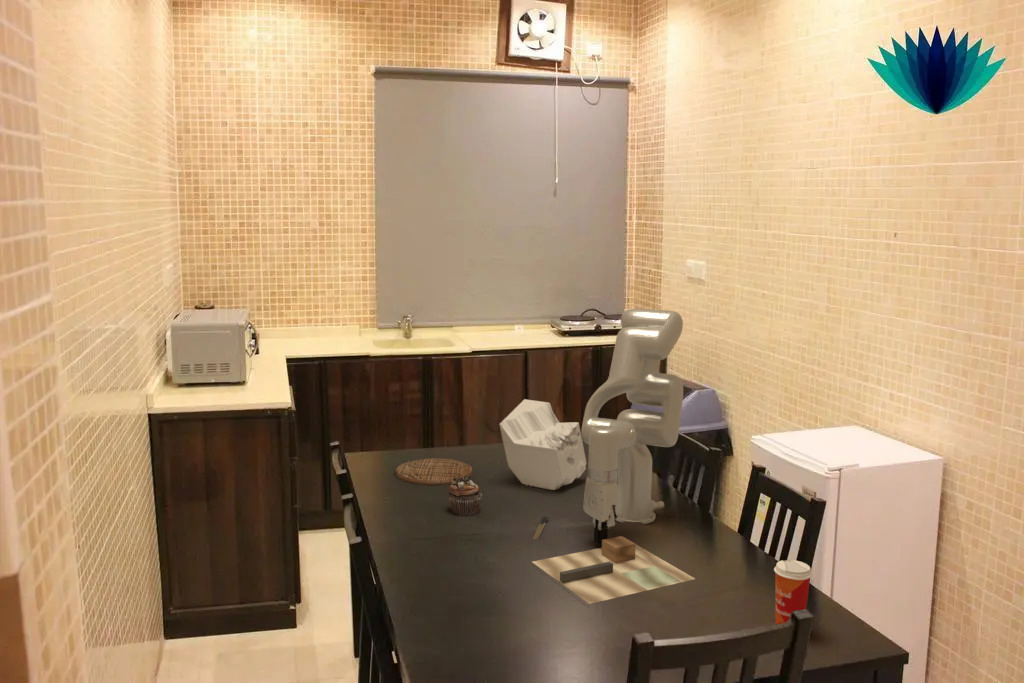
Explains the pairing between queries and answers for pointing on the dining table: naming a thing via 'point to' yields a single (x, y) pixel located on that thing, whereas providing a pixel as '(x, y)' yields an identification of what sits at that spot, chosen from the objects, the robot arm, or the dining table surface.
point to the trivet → (433, 471)
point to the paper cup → (790, 588)
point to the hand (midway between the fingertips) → (600, 542)
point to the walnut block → (618, 549)
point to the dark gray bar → (586, 572)
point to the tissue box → (542, 446)
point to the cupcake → (464, 496)
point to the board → (614, 574)
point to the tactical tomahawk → (541, 527)
